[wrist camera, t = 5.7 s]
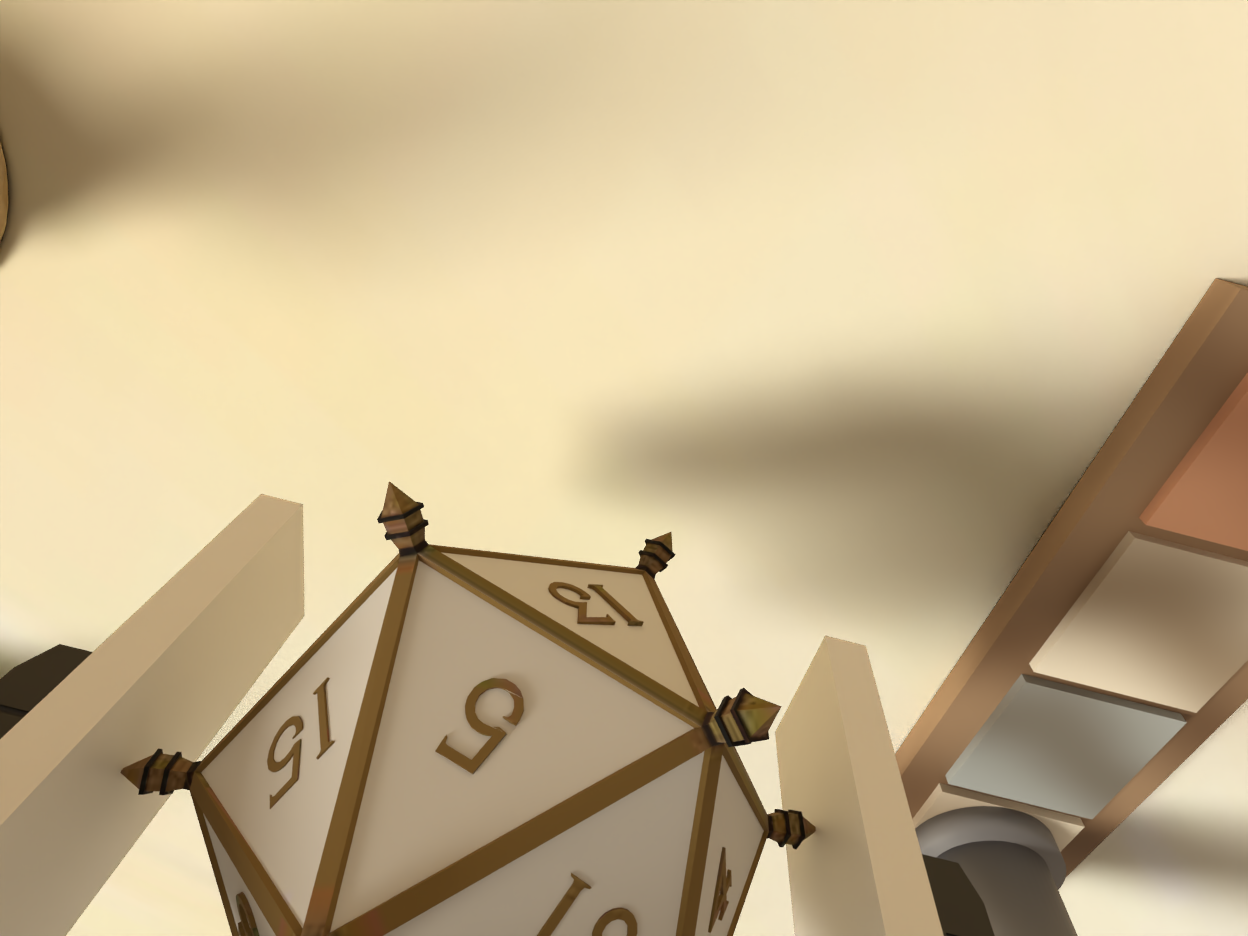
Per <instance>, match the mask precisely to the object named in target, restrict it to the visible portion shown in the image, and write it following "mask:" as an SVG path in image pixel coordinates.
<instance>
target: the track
mask: <svg viewBox="0 0 1248 936" xmlns="http://www.w3.org/2000/svg"><path fill="white" fill-rule="evenodd" d="M1247 699H1248V287H1247V286H1243V285H1239V284H1236V283H1232V282H1228V281H1224V280H1221V279H1217V278H1216V279H1215V280H1214V282H1213V283H1212V285H1211V286H1210V288H1209V289H1208V291H1207V292H1206V294H1205V295H1204V296H1203V298H1202V299H1201V301H1200V302H1199V304H1198V305H1197V307H1196V308H1195V310H1194V311H1193V313H1192V314H1191V316H1190V317H1189V319H1188V320H1187V322H1186V323H1185V325H1184V326H1183V328H1182V329H1181V331H1180V332H1179V334H1178V335H1177V337H1176V338H1175V340H1174V341H1173V343H1172V344H1171V345H1170V347H1169V348H1168V350H1167V351H1166V353H1165V354H1164V356H1163V357H1162V359H1161V360H1160V362H1159V363H1158V365H1157V366H1156V368H1155V369H1154V371H1153V372H1152V374H1151V375H1150V377H1149V378H1148V380H1147V381H1146V383H1145V384H1144V386H1143V387H1142V389H1141V390H1140V392H1139V393H1138V395H1137V396H1136V397H1135V399H1134V400H1133V402H1132V403H1131V405H1130V406H1129V408H1128V409H1127V411H1126V412H1125V414H1124V415H1123V417H1122V418H1121V420H1120V421H1119V423H1118V424H1117V426H1116V427H1115V429H1114V430H1113V432H1112V433H1111V435H1110V436H1109V438H1108V439H1107V441H1106V442H1105V444H1104V445H1103V446H1102V448H1101V449H1100V451H1099V452H1098V454H1097V455H1096V457H1095V458H1094V460H1093V461H1092V463H1091V464H1090V466H1089V467H1088V469H1087V470H1086V472H1085V473H1084V475H1083V476H1082V478H1081V479H1080V481H1079V482H1078V484H1077V485H1076V487H1075V488H1074V490H1073V491H1072V493H1071V494H1070V496H1069V497H1068V498H1067V500H1066V501H1065V503H1064V504H1063V506H1062V507H1061V509H1060V510H1059V512H1058V513H1057V515H1056V516H1055V518H1054V519H1053V521H1052V522H1051V524H1050V525H1049V527H1048V528H1047V530H1046V531H1045V533H1044V534H1043V536H1042V537H1041V539H1040V540H1039V542H1038V543H1037V545H1036V546H1035V547H1034V549H1033V550H1032V552H1031V553H1030V555H1029V556H1028V558H1027V559H1026V561H1025V562H1024V564H1023V565H1022V567H1021V568H1020V570H1019V571H1018V573H1017V574H1016V576H1015V577H1014V579H1013V580H1012V582H1011V583H1010V585H1009V586H1008V588H1007V589H1006V591H1005V592H1004V594H1003V595H1002V597H1001V598H1000V599H999V601H998V602H997V604H996V605H995V607H994V608H993V610H992V611H991V613H990V614H989V616H988V617H987V619H986V620H985V622H984V623H983V625H982V626H981V628H980V629H979V631H978V632H977V634H976V635H975V637H974V638H973V640H972V641H971V643H970V644H969V646H968V647H967V648H966V650H965V651H964V653H963V654H962V656H961V657H960V659H959V660H958V662H957V663H956V665H955V666H954V668H953V669H952V671H951V672H950V674H949V675H948V677H947V678H946V680H945V681H944V683H943V684H942V686H941V687H940V689H939V690H938V692H937V693H936V695H935V696H934V697H933V699H932V700H931V702H930V703H929V705H928V706H927V708H926V709H925V711H924V712H923V714H922V715H921V717H920V718H919V720H918V721H917V723H916V724H915V726H914V727H913V729H912V730H911V732H910V733H909V735H908V736H907V738H906V739H905V741H904V742H903V744H902V745H901V747H900V748H899V749H898V751H897V752H896V754H895V757H896V760H897V764H898V768H899V772H900V775H901V779H902V783H903V787H904V790H905V794H906V798H907V801H908V805H909V809H910V813H911V816H912V820H913V824H914V827H915V828H917V827H918V826H919V825H920V824H922V823H923V822H925V821H926V820H928V819H930V818H932V817H934V816H936V815H939V814H941V813H944V812H947V811H951V810H955V809H960V808H965V807H973V806H995V807H1004V808H1009V809H1014V810H1017V811H1021V812H1024V813H1026V814H1029V815H1031V816H1033V817H1035V818H1036V819H1038V820H1039V821H1041V822H1042V823H1043V824H1045V825H1046V827H1047V828H1048V829H1049V830H1050V831H1051V833H1052V835H1053V837H1054V839H1055V841H1056V843H1057V846H1058V848H1059V850H1060V852H1061V855H1062V857H1063V859H1064V862H1065V864H1066V876H1068V875H1069V874H1070V873H1071V872H1072V871H1073V870H1074V869H1075V868H1076V867H1077V866H1078V865H1079V864H1080V863H1081V862H1082V861H1083V860H1084V859H1085V858H1086V857H1087V856H1088V855H1089V854H1090V853H1091V852H1092V851H1093V850H1094V849H1095V848H1096V847H1097V846H1098V845H1099V844H1100V843H1101V842H1102V841H1103V840H1104V839H1105V838H1106V837H1107V836H1108V835H1109V834H1110V833H1111V832H1112V831H1113V830H1114V829H1115V828H1116V827H1117V826H1118V825H1119V824H1120V823H1122V822H1123V821H1124V820H1125V819H1126V818H1127V817H1128V816H1129V815H1130V814H1131V813H1132V812H1133V811H1134V810H1135V809H1136V808H1137V807H1138V806H1139V805H1140V804H1141V803H1142V802H1143V801H1144V800H1145V799H1146V798H1147V797H1148V796H1149V795H1150V794H1151V793H1152V792H1153V791H1154V790H1155V789H1156V788H1157V787H1158V786H1159V785H1160V784H1161V783H1162V782H1163V781H1164V780H1165V779H1166V778H1167V777H1168V776H1169V775H1170V774H1171V773H1172V772H1173V771H1174V770H1176V769H1177V768H1178V767H1179V766H1180V765H1181V764H1182V763H1183V762H1184V761H1185V760H1186V759H1187V758H1188V757H1189V756H1190V755H1191V754H1192V753H1193V752H1194V751H1195V750H1196V749H1197V748H1198V747H1199V746H1200V745H1201V744H1202V743H1203V742H1204V741H1205V740H1206V739H1207V738H1208V737H1209V736H1210V735H1211V734H1212V733H1213V732H1214V731H1215V730H1216V729H1217V728H1218V727H1219V726H1220V725H1221V724H1222V723H1223V722H1224V721H1225V720H1226V719H1227V718H1228V717H1229V716H1231V715H1232V714H1233V713H1234V712H1235V711H1236V710H1237V709H1238V708H1239V707H1240V706H1241V705H1242V704H1243V703H1244V702H1245V701H1246V700H1247Z"/></svg>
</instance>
